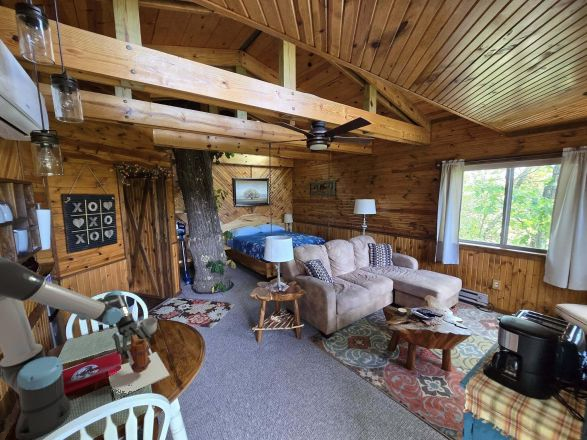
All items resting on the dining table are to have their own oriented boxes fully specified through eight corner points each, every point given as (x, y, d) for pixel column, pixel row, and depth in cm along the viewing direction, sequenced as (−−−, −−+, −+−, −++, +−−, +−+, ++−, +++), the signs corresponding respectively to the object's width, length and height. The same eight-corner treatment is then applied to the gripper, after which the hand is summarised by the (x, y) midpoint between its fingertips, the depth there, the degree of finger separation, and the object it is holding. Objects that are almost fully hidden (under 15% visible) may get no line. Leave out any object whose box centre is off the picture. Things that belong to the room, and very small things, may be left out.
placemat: (114, 401, 103) (114, 400, 103) (107, 371, 121) (107, 370, 121) (169, 375, 119) (169, 374, 118) (156, 352, 136) (156, 351, 136)
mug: (153, 369, 118) (151, 340, 117) (134, 378, 112) (132, 348, 110) (143, 356, 128) (141, 329, 126) (125, 364, 122) (123, 336, 120)
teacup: (155, 327, 162) (154, 315, 162) (159, 333, 155) (159, 321, 154) (130, 334, 153) (130, 322, 152) (133, 342, 145) (133, 329, 144)
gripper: (141, 314, 134) (159, 351, 128) (97, 331, 117) (115, 375, 110) (146, 307, 131) (164, 344, 124) (101, 324, 114) (120, 368, 107)
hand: (141, 359), depth 117 cm, fingers closed on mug, 8 cm apart
